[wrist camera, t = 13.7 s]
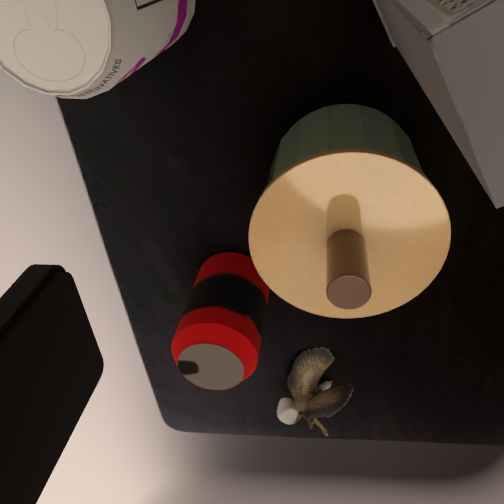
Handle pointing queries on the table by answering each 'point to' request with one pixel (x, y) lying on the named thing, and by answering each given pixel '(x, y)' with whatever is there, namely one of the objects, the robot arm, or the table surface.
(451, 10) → the tall grey box
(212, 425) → the table surface
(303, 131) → the canister
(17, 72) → the supplement can
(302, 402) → the eagle figurine
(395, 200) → the lid
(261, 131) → the table surface
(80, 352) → the robot arm
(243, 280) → the soda can
